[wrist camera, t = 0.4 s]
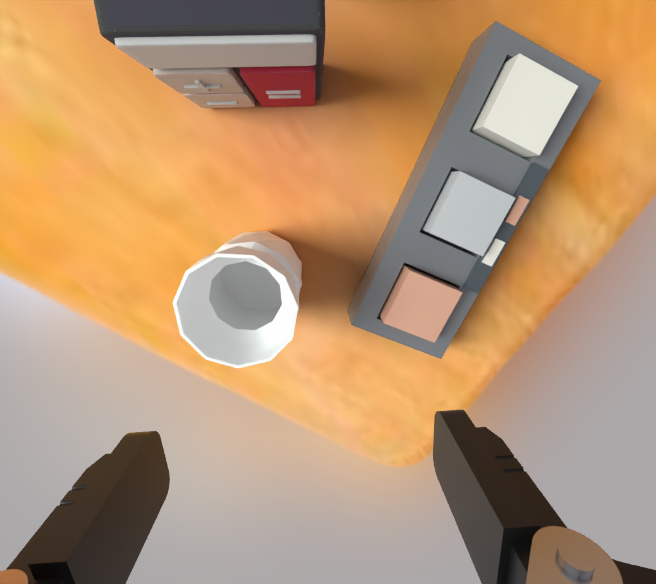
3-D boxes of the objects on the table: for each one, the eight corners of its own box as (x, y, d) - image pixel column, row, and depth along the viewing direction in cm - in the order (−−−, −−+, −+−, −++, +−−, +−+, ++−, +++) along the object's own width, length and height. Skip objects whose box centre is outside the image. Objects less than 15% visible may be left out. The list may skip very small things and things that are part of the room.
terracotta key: (401, 262, 33) (410, 270, 30) (450, 283, 34) (462, 292, 31) (377, 311, 35) (383, 323, 32) (424, 330, 36) (434, 342, 33)
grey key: (446, 172, 31) (460, 171, 28) (497, 196, 32) (515, 197, 29) (418, 228, 32) (429, 232, 29) (468, 250, 33) (482, 256, 30)
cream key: (498, 66, 29) (519, 53, 26) (552, 95, 29) (578, 85, 26) (466, 131, 30) (482, 126, 27) (518, 157, 31) (539, 155, 28)
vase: (241, 322, 37) (208, 384, 26) (203, 248, 35) (148, 280, 23) (316, 293, 37) (317, 344, 25) (283, 215, 34) (267, 232, 23)
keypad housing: (472, 41, 30) (499, 18, 26) (566, 92, 32) (605, 78, 27) (347, 310, 37) (351, 326, 33) (428, 341, 39) (442, 361, 34)
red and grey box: (198, 112, 31) (99, 52, 17) (191, 56, 30) (77, -60, 15) (320, 109, 31) (326, 48, 17) (319, 54, 30) (323, -63, 16)
